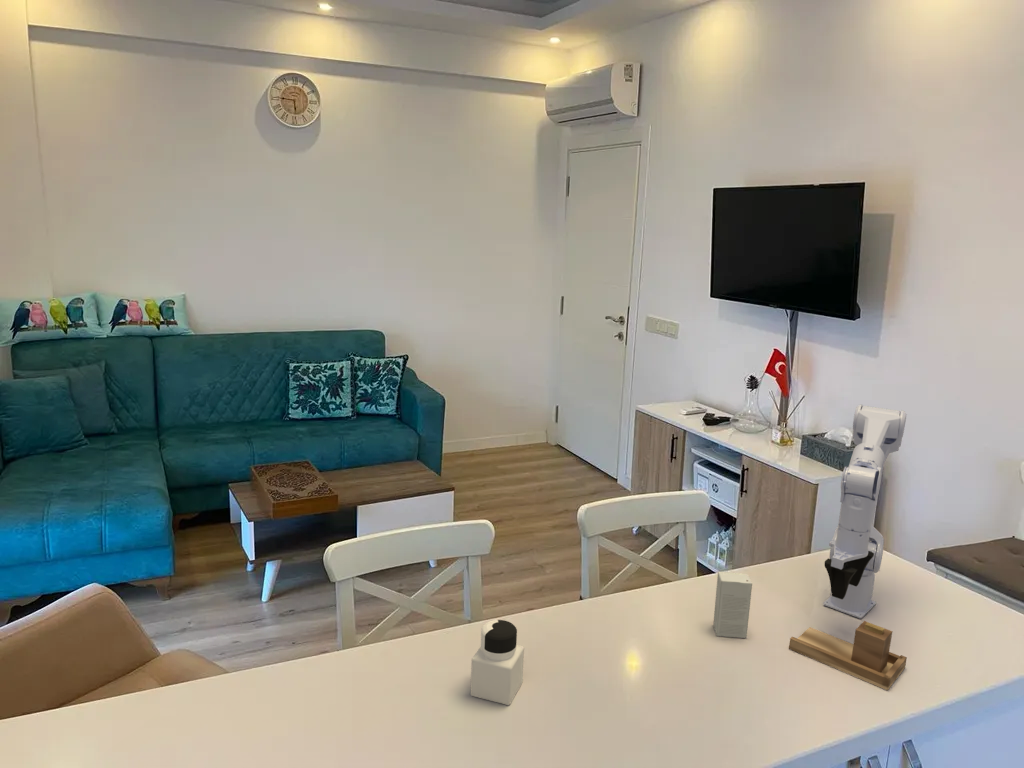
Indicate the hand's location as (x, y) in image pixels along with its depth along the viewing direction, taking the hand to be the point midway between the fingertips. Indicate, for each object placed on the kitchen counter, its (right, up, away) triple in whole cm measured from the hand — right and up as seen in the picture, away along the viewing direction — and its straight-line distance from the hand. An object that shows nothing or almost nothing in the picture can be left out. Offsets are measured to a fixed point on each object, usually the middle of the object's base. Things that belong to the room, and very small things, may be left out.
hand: (844, 590), depth 147 cm
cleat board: (-2, -11, -6) cm, 13 cm away
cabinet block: (+1, -11, -8) cm, 14 cm away
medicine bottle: (-68, -12, -19) cm, 72 cm away
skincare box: (-22, -9, +2) cm, 24 cm away
